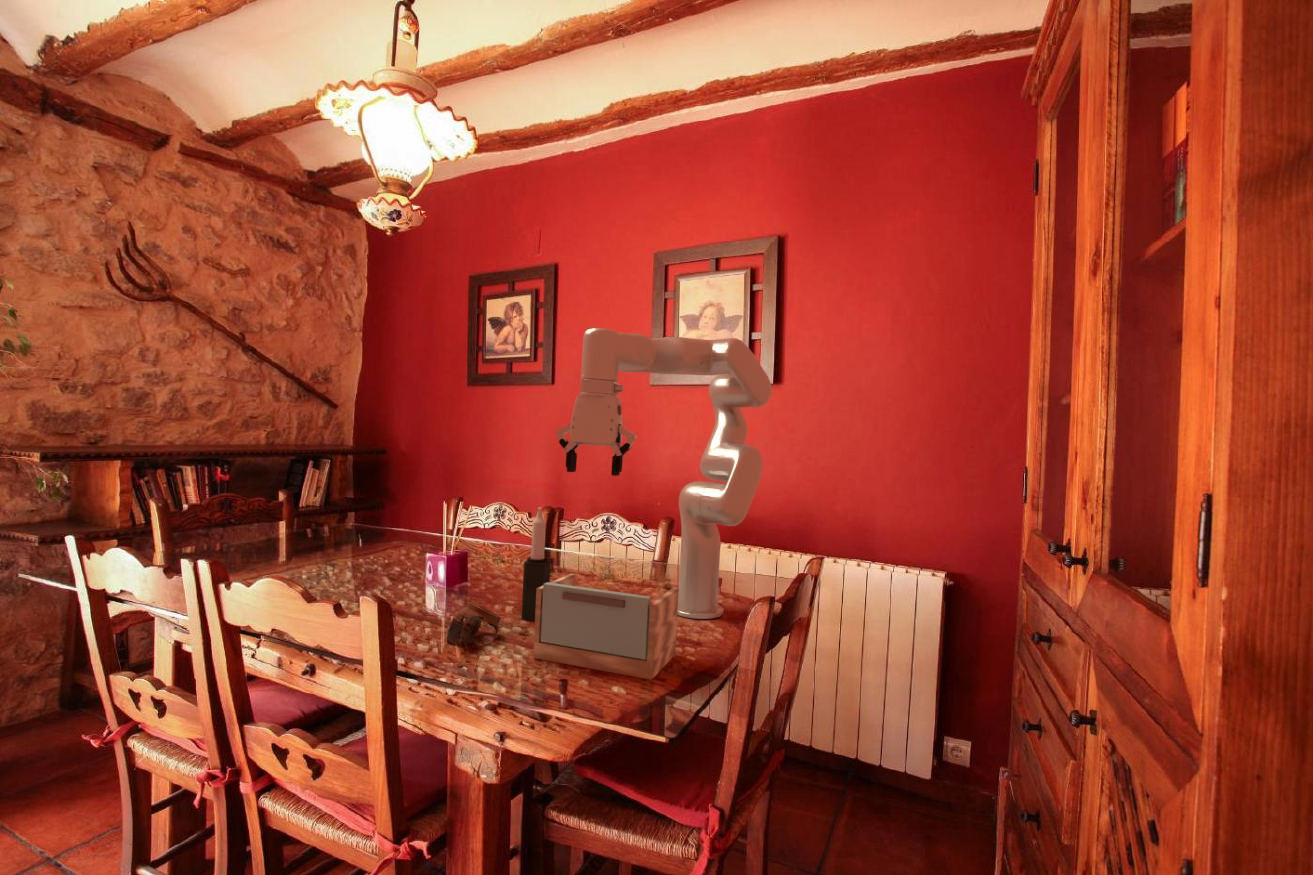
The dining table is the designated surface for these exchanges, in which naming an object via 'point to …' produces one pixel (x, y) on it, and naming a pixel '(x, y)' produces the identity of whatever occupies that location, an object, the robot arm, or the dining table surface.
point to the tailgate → (596, 620)
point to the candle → (535, 568)
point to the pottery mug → (470, 623)
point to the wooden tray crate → (658, 654)
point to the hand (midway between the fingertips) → (593, 473)
